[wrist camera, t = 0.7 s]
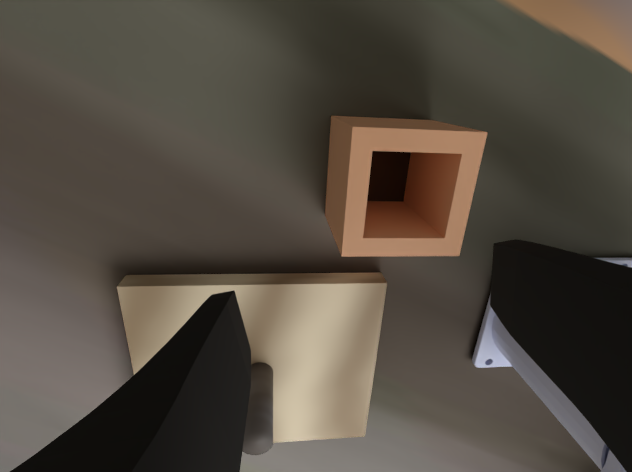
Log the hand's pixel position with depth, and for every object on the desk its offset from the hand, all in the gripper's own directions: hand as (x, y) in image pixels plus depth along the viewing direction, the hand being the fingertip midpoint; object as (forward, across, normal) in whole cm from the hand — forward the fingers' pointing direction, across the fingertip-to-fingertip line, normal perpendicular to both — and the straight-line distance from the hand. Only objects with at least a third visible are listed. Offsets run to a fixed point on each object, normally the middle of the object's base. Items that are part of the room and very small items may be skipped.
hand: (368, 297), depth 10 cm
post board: (+9, +5, +10) cm, 14 cm away
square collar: (+9, -3, -1) cm, 10 cm away
